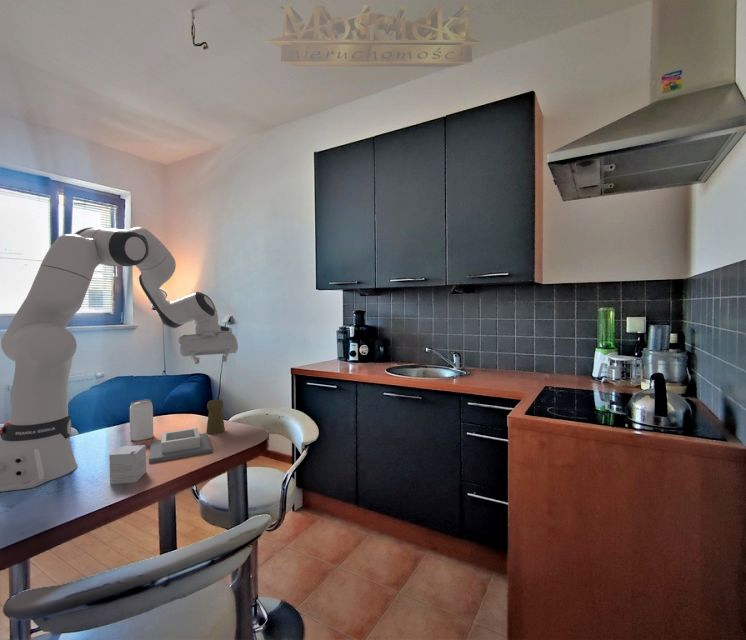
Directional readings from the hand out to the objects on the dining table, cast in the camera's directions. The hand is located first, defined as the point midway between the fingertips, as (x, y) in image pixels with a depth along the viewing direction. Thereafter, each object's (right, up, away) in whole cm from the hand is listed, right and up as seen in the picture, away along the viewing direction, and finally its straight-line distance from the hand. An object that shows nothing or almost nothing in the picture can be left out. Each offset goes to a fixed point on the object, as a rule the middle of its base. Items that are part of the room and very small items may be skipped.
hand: (211, 362), depth 141 cm
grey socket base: (+2, -23, -26) cm, 35 cm away
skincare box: (-1, -24, -46) cm, 52 cm away
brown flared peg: (+6, -23, -10) cm, 26 cm away
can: (-16, -23, -16) cm, 33 cm away
